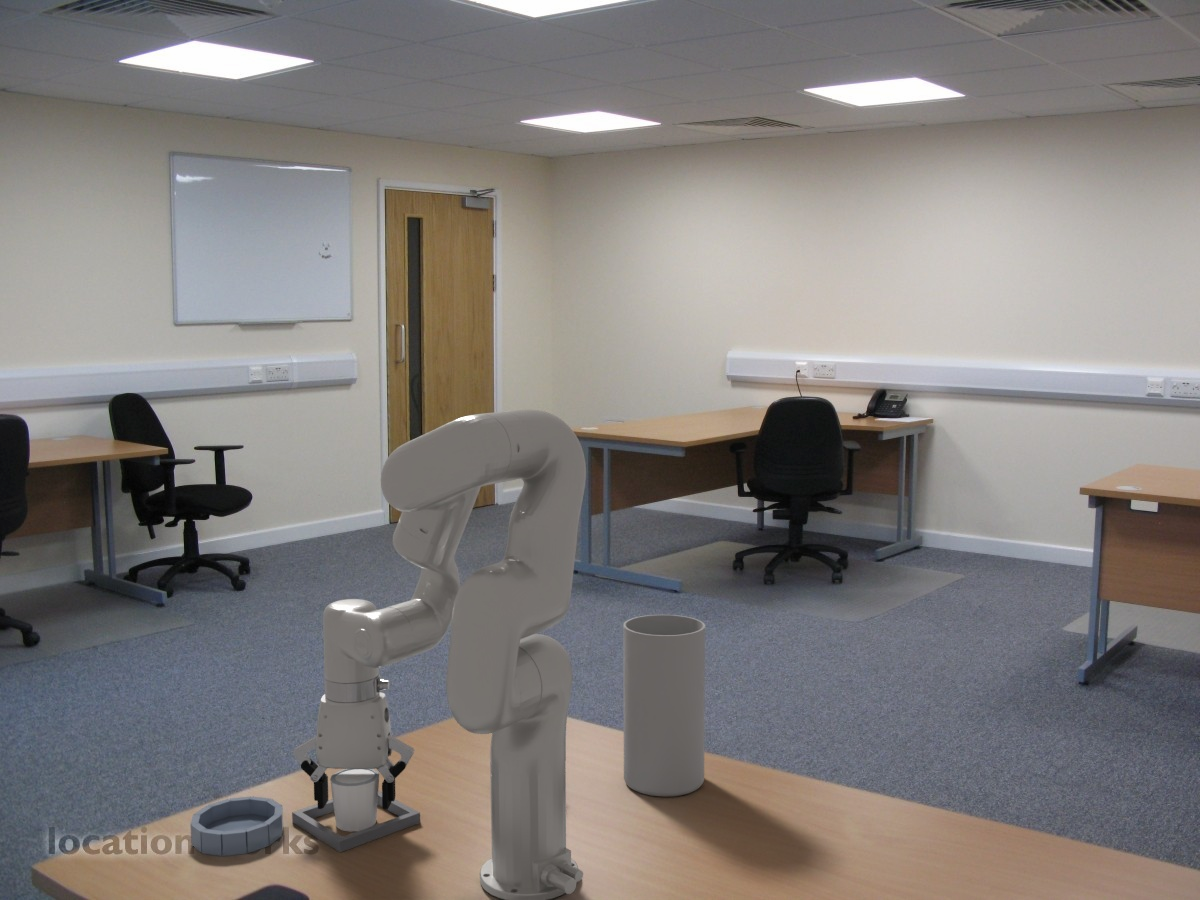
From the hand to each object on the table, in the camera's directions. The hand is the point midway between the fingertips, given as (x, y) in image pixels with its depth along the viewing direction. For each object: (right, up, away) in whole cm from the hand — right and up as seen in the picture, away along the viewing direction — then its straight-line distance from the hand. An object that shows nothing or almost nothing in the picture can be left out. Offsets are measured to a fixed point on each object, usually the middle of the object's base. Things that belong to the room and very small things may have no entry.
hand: (355, 805), depth 158 cm
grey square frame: (0, -3, 0) cm, 3 cm away
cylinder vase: (+45, -1, +14) cm, 47 cm away
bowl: (-16, -3, -4) cm, 16 cm away
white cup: (0, -3, 0) cm, 3 cm away
